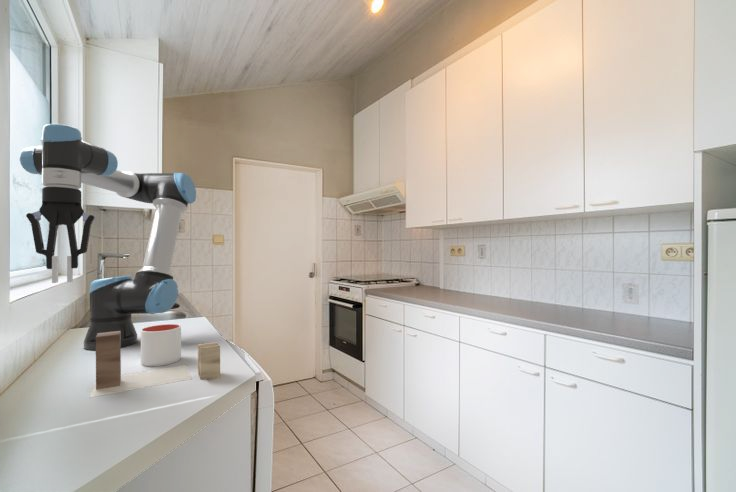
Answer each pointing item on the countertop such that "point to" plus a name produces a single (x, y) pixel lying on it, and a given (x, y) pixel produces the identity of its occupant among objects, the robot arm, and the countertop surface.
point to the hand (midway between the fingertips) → (62, 281)
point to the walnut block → (108, 360)
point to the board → (146, 380)
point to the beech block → (209, 361)
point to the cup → (160, 345)
